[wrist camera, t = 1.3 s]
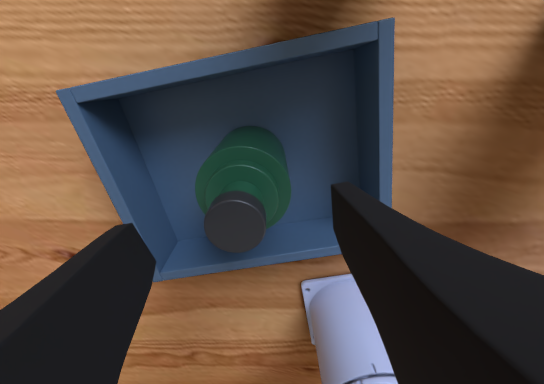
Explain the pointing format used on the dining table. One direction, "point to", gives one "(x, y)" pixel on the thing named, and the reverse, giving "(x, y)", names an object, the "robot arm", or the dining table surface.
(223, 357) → the dining table surface
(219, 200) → the bottle
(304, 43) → the tub
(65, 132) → the dining table surface
